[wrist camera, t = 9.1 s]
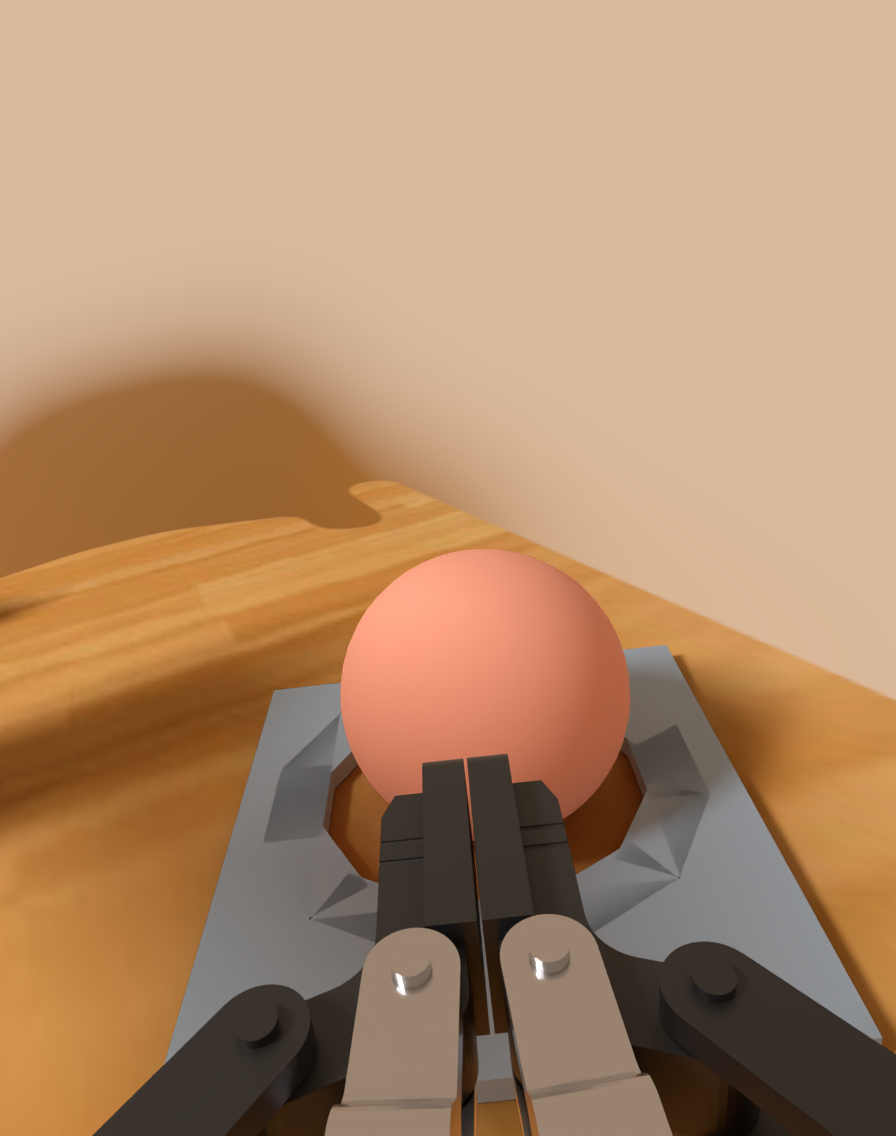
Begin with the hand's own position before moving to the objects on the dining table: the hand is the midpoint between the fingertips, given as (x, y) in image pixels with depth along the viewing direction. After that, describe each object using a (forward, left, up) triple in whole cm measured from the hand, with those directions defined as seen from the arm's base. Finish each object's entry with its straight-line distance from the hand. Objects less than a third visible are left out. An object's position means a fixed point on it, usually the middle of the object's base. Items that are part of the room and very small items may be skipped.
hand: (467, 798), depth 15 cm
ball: (-13, +14, -10) cm, 21 cm away
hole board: (-12, +12, -16) cm, 23 cm away
